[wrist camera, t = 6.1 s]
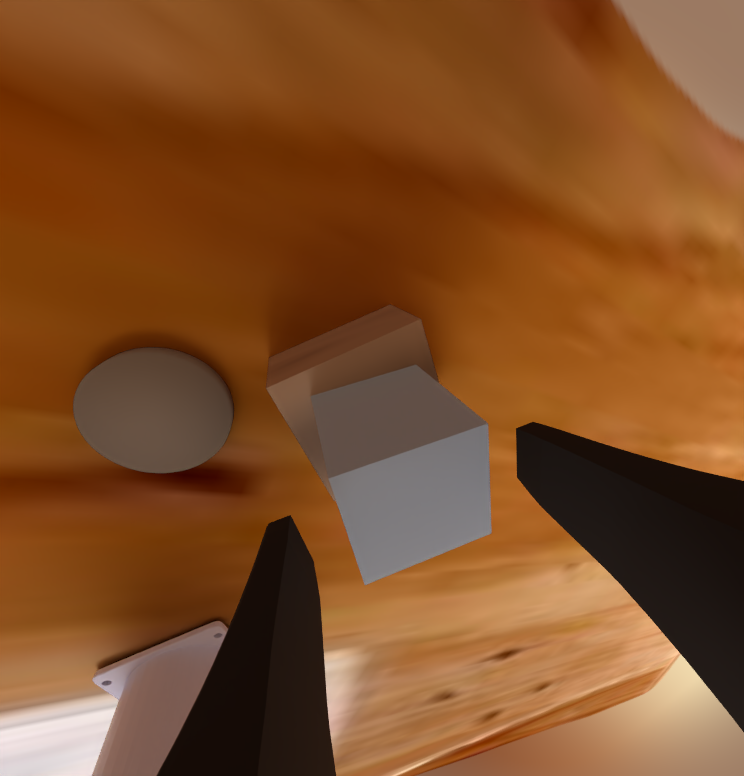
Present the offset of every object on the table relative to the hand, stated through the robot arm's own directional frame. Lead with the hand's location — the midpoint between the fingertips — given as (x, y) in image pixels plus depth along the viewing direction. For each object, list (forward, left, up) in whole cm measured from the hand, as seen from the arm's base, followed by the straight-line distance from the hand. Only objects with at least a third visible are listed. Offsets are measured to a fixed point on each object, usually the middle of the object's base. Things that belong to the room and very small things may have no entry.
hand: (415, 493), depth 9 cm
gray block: (0, 0, -5) cm, 5 cm away
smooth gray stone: (+2, +9, -9) cm, 13 cm away
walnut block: (0, 0, -9) cm, 9 cm away
